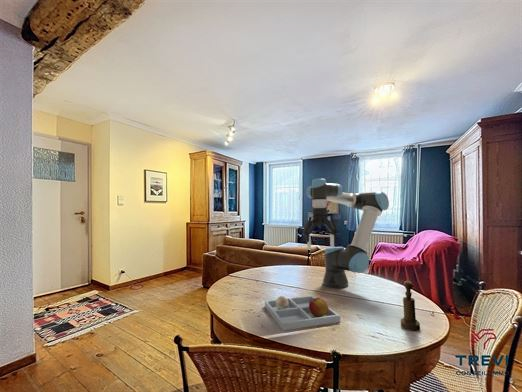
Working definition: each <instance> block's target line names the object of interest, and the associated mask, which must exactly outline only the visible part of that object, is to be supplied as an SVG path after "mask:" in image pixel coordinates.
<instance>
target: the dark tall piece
mask: <svg viewBox="0 0 522 392" xmlns="http://www.w3.org/2000/svg"><path fill="white" fill-rule="evenodd" d="M403 286H404V288H405V290H406V291H405V297H403V298H402V301H403V317H402V318H401V319H400V327H401V328H402V329H404V330H406V331H409V332H419V331H420V330H421V324H420V321H419V320H418V319H417V318H416V305H415V304H416V300H415V298H413V297H412V295H413V293H412V292H411V290H412V288H413V282H412V281H410V280H405V281H404V282H403Z"/></svg>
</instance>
